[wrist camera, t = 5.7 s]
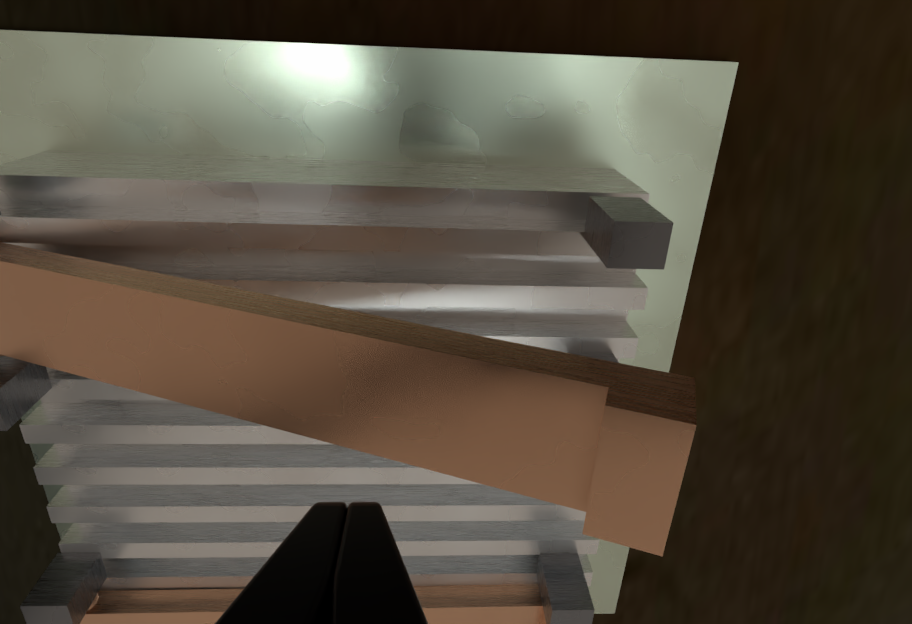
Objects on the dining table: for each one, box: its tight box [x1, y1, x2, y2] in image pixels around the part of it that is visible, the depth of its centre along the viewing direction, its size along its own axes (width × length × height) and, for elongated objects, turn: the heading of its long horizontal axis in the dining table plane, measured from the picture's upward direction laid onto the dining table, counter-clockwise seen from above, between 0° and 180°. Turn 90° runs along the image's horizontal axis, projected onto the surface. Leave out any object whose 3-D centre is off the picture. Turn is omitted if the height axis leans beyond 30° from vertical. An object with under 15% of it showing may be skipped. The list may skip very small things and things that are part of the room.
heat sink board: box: [0, 29, 739, 624], centre depth 18 cm, size 22×22×7 cm
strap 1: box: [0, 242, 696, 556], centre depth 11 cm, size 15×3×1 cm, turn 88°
